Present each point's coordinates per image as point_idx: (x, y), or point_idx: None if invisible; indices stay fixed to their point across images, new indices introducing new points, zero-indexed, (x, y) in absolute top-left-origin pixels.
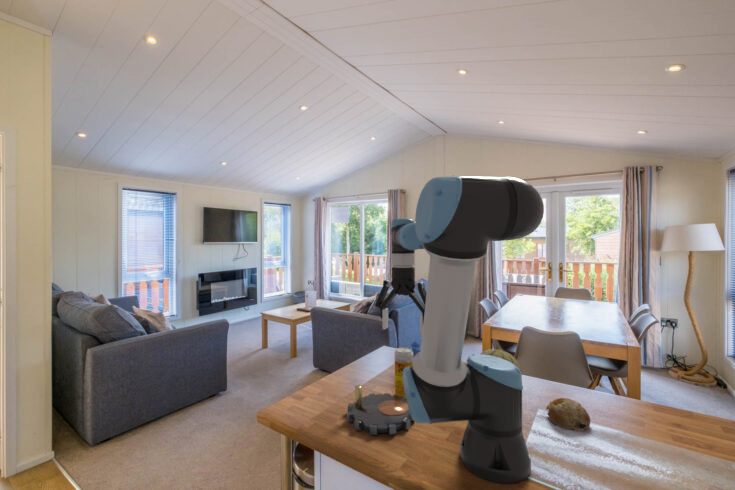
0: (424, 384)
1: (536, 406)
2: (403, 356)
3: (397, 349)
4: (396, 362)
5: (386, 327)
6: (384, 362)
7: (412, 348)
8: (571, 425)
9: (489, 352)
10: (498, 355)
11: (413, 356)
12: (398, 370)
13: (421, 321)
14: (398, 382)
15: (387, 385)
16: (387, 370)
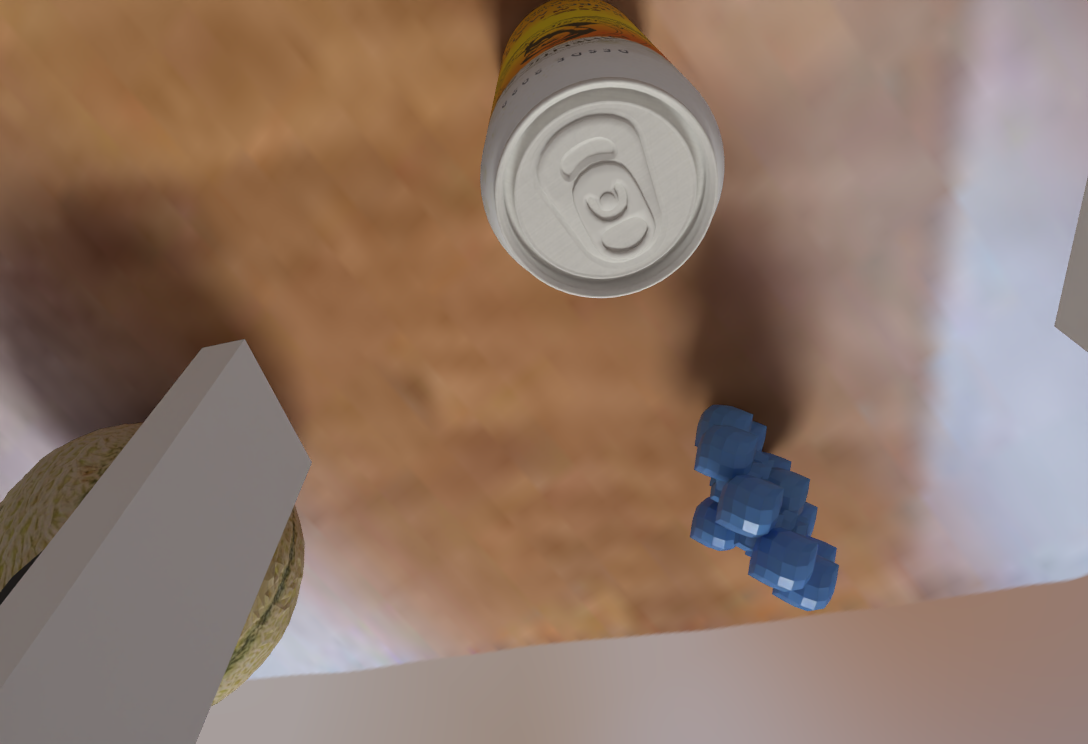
0: None
1: (5, 478)
2: (529, 78)
3: (707, 176)
4: (628, 39)
5: (1085, 259)
6: (1001, 405)
7: (773, 507)
8: None
9: None
10: None
11: (736, 453)
12: (586, 22)
13: (62, 553)
14: (579, 8)
15: (779, 121)
16: (915, 321)
